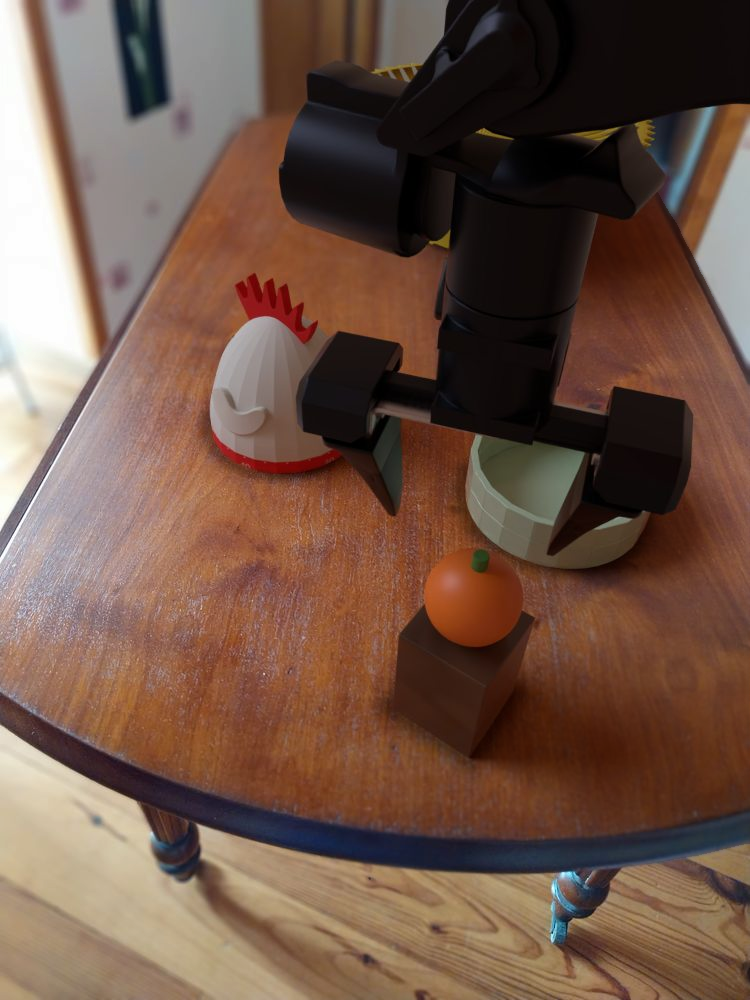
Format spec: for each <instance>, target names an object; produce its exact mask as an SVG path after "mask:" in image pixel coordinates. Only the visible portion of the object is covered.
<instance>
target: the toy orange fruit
mask: <svg viewBox="0 0 750 1000" xmlns="http://www.w3.org/2000/svg"><path fill="white" fill-rule="evenodd" d="M423 597H424V600H423V601H424V604H425V607H426V611H427V614H428V617H429V619H430V621H431V623H432V624H433V625H434V627H435V628H436V629H437V630H438V631H439V633H440V634H442V635H443V636H444V637H445V638H447V639H448V640H450V641H452V642H454V643H457V644H459V645H463V646H468V647H482V646H487V645H490V644H493V643H495V642H497V641H499V640H501V639H502V638H504V637H505V636H506V635H507V634H508V633H509V632H510V631H511V630H512V629H513V628H514V626H515V625H516V623H517V622H518V620H519V617H520V614H521V612H522V611H523V607H524V591H523V586H522V582H521V579H520V577H519V575H518V573H517V571H516V570H515V568H514V567H513V566H512V565H511V564H510V562H509V561H507V560H506V559H505V558H503V557H502V555H499V554H497V553H496V552H494V551H492V550H488V549H484V548H479V547H468V548H467V547H466V548H461V549H458V550H455V551H454V552H450V553H448V554H447V555H445V556H444V557H442V558H441V559H440V560H439V561H438V562H437V563H436V564H435V566H434V567H433V568H432V570H431V571H430V573H429V575H428V577H427V579H426V583H425V587H424V596H423Z"/></svg>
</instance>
